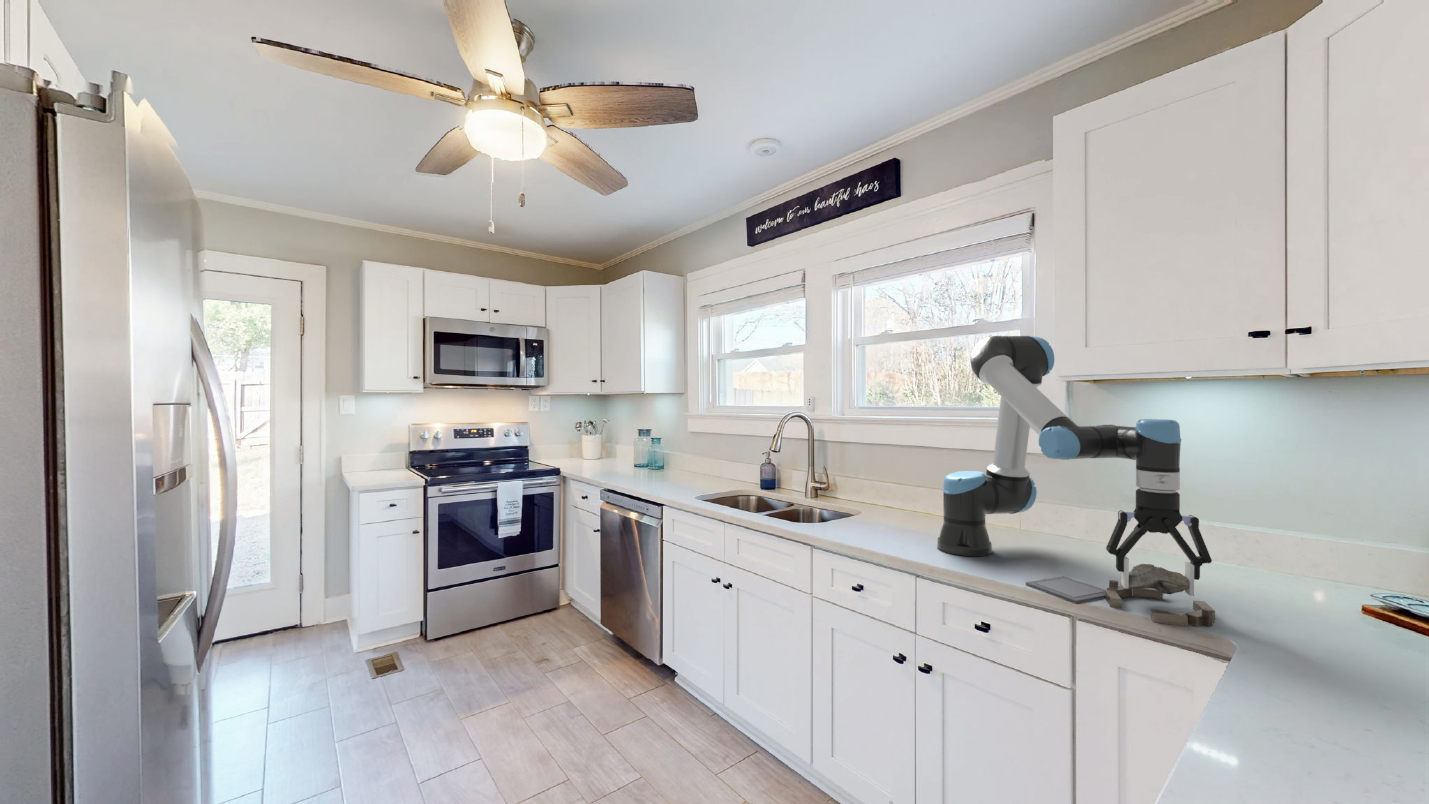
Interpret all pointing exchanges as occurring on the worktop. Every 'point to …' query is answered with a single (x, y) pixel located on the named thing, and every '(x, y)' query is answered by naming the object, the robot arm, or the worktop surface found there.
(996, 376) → the robot arm
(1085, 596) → the mat
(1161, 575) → the fossilized seashell
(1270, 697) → the worktop surface
